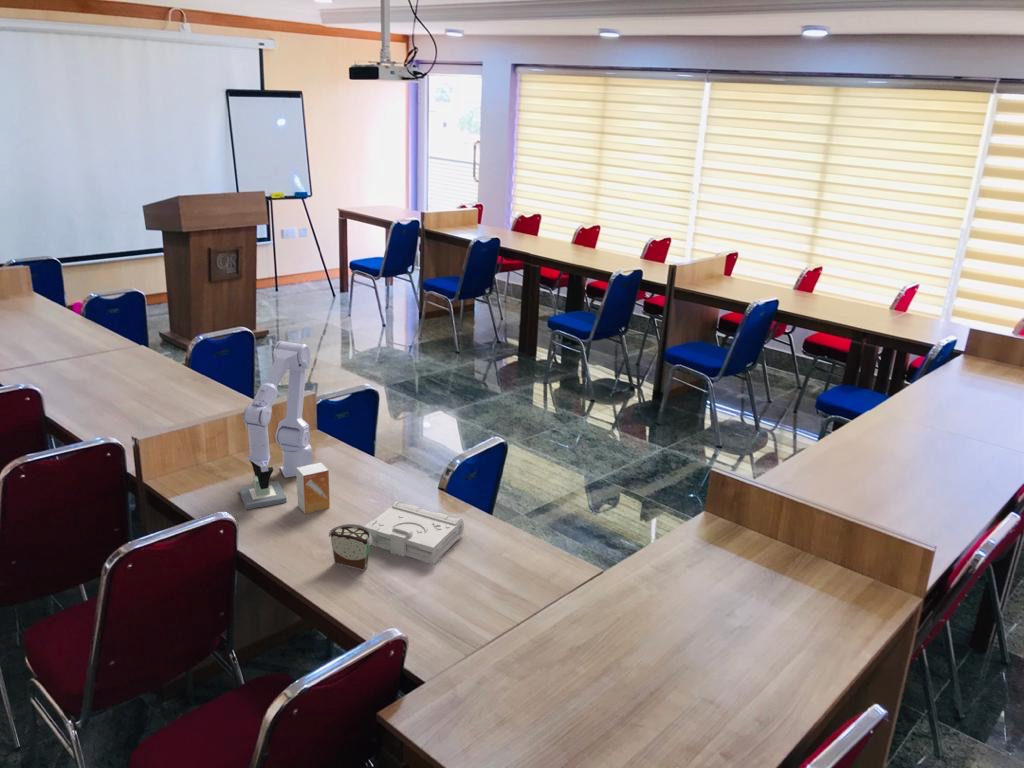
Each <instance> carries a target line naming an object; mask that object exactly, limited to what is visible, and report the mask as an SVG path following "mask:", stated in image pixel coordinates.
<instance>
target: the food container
mask: <svg viewBox="0 0 1024 768" xmlns="http://www.w3.org/2000/svg"><path fill="white" fill-rule="evenodd" d="M329 537H330V543H331V547H332V554H333V561H334V564H335V563H337V564H336V565H339V564H341V566H343V565H344V566H343V567H349V568H353V569H356V570H360V571H366V570H367V569H368V567H369V566H368V565H369V564H368V563H369V553H370V545H371V543H372V537H371V534H370V532H369V530H368V529H367V528H365V527H364V526H363V525H360V524H355V523H353V524H352V523H347V524H341V525H337V526H335V527H333V528H331V529H330V530H329V534H328V538H329Z"/></svg>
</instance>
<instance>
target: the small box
mask: <svg viewBox="0 0 1024 768" xmlns="http://www.w3.org/2000/svg"><path fill="white" fill-rule="evenodd" d="M329 473H330V471H329V469H328V468H327V467H326V466H325V464H323V462H317V463H313V464H311V465H306V466H302V467H298V468H296V476H295V477H296V493H297V494H296V495H297V496H296V497H297V506H298V507H299V508H300V510H301V511H302V512H303V514H310V513H313V512H319V511H322V510H326V508H327V509H330V508H331V507H330V506H331V504H330V476H329V475H330V474H329Z"/></svg>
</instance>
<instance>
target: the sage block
mask: <svg viewBox="0 0 1024 768" xmlns="http://www.w3.org/2000/svg"><path fill="white" fill-rule="evenodd" d="M252 478H253V479H252V480H253V485H254V491H255V493H256V496H261V495H266V494H270V488H269V486H268V488H267V489H261V488H260V485H259V481H258V478H257V476H255V475H253V477H252Z"/></svg>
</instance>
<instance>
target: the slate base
mask: <svg viewBox="0 0 1024 768" xmlns="http://www.w3.org/2000/svg"><path fill="white" fill-rule="evenodd" d="M269 488H270V494H266V495H261V496H256V493H255V491H254V484H253V485H246V486H241V487H238V489H239V494H240V497H241V499H242V502H243V504H244V507H245V509H246V510H249V509H250V510H251V509H256V508H261V507H267V506H272V505H273V504H274V505H278V504H285V503H287V501H288V500H287V497H286V494H285V491H284V490H283V489H282V486H281V484H280V482H279V480H277V481H269Z"/></svg>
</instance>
